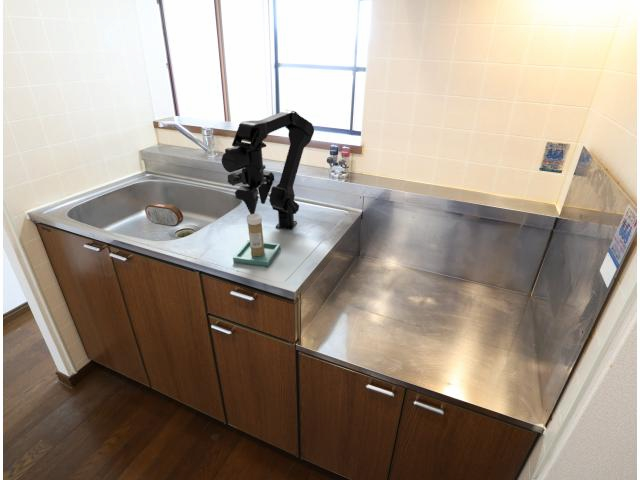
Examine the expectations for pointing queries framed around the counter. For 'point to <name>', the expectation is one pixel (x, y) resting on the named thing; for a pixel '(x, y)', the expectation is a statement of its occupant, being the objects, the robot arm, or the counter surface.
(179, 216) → the tin
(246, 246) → the teal tray
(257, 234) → the sprinkles bottle
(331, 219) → the counter surface
